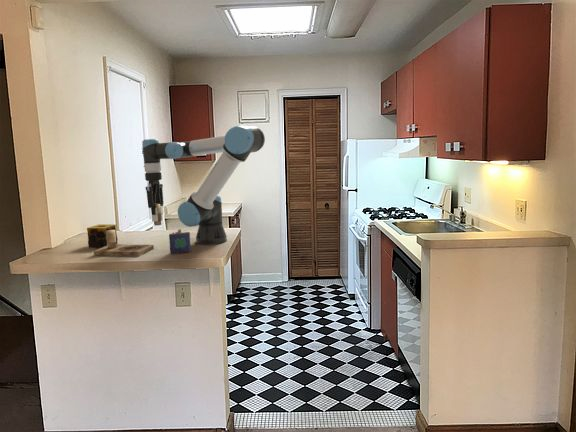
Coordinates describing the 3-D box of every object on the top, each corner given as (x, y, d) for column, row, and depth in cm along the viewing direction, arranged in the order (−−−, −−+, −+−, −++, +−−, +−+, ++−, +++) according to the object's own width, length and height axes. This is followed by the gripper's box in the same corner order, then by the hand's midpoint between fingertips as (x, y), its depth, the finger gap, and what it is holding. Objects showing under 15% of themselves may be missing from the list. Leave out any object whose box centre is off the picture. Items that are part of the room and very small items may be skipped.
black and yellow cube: (106, 248, 224) (104, 228, 222) (87, 248, 226) (85, 227, 224) (118, 243, 234) (116, 224, 232) (100, 243, 236) (98, 224, 234)
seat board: (153, 248, 220) (152, 228, 218) (139, 256, 206) (137, 234, 204) (110, 248, 224) (108, 227, 222) (93, 255, 210) (91, 233, 208)
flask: (190, 250, 214) (188, 227, 212) (191, 252, 211) (190, 228, 210) (169, 253, 210) (168, 229, 209) (171, 254, 208) (169, 230, 206)
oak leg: (163, 224, 229) (161, 203, 227) (159, 225, 225) (157, 204, 223) (155, 224, 229) (153, 203, 228) (151, 225, 225) (149, 205, 224)
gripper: (153, 171, 232) (158, 217, 236) (136, 173, 215) (141, 223, 219) (168, 170, 231) (172, 217, 234) (152, 173, 214) (156, 223, 218)
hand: (157, 220), depth 227 cm, fingers closed on oak leg, 4 cm apart
